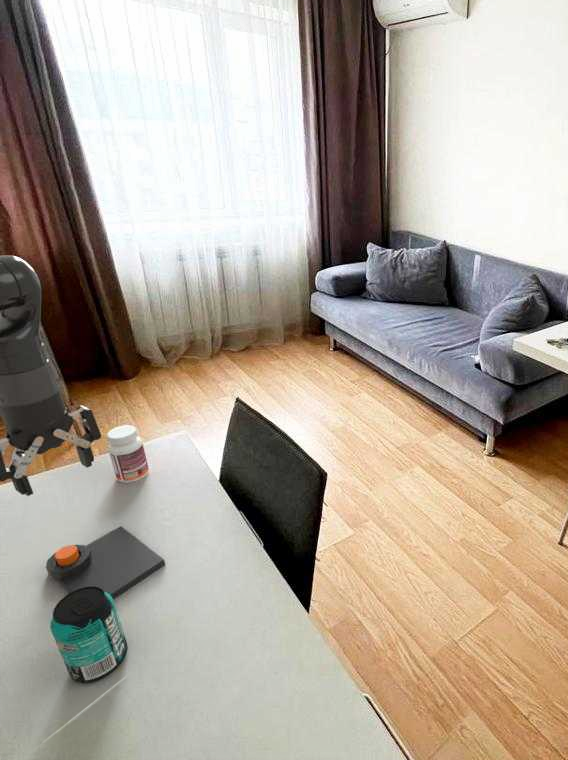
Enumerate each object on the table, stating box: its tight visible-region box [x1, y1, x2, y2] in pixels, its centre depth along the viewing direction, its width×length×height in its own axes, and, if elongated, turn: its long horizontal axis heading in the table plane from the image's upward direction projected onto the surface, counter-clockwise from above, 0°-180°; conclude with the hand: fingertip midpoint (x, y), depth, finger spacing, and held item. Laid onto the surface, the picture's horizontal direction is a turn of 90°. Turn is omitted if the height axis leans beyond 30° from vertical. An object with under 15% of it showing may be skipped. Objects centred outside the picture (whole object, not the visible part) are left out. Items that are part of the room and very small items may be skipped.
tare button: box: [55, 544, 79, 566], centre depth 83 cm, size 3×3×2 cm
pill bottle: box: [106, 424, 150, 484], centre depth 106 cm, size 6×6×11 cm
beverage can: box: [49, 586, 129, 684], centre depth 69 cm, size 7×7×12 cm
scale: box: [45, 525, 166, 601], centre depth 85 cm, size 14×12×3 cm
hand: (58, 478), depth 80 cm, fingers open, 8 cm apart
